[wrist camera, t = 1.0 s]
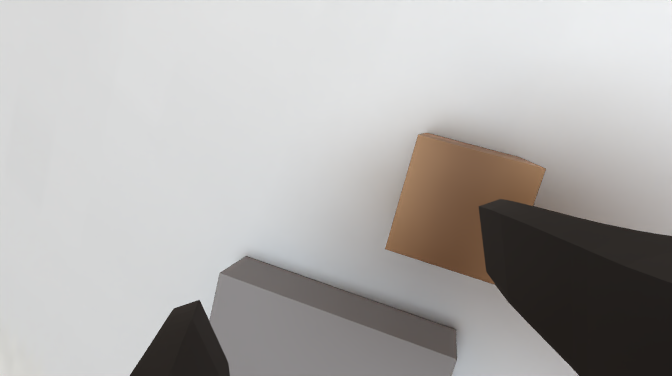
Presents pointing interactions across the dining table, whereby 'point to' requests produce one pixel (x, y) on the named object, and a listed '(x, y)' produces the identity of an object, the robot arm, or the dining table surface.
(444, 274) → the dining table surface
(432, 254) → the walnut block
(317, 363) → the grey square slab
